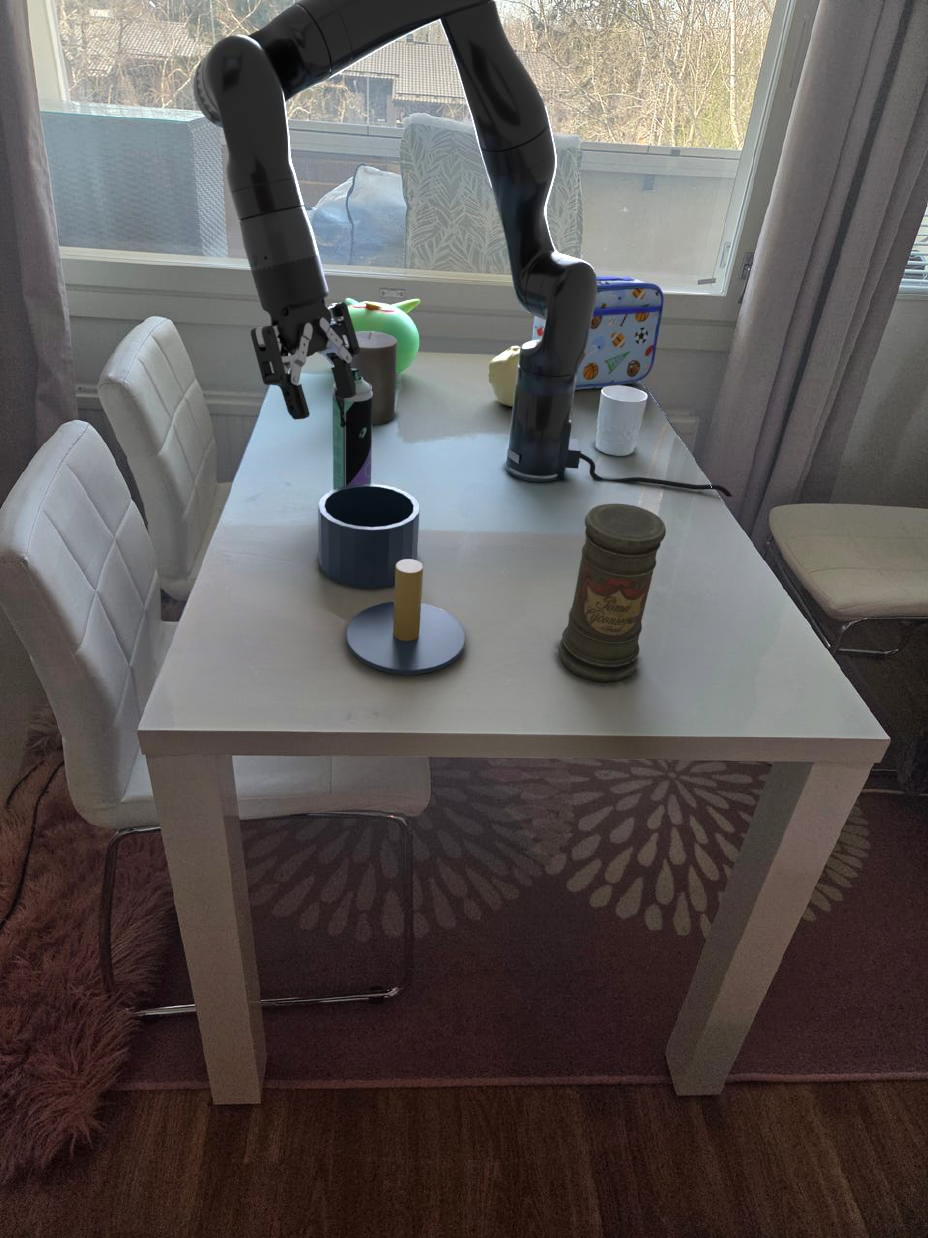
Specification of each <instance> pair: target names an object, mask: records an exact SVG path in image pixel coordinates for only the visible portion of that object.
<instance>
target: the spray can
mask: <svg viewBox="0 0 928 1238" xmlns="http://www.w3.org/2000/svg"><path fill="white" fill-rule="evenodd" d="M351 370H352V374H353V378H354V381H355V385H356V395H355V396H354V397H351V398H344V399H342V398H340V397H339V395H338V391H337V388H336V384H335V382H334V383H333V384H332V390H331V393H332V394H331V396H332V397H331V399H332V400H331V401H332V486H333V487H332V488H333V489H332V490H334V489H336V488H339V487H343V486H348V485H355V484H372V463H373V462H372V461H373V460H372V459H373V458H372V457H373V456H372V454H373V453H372V452H373V424H372V405H373V392H372V386H371V384H369V383H367V382H365V381H364V380H363V377H361V376H360V374H359V369H358V368H357V367H354V368H351Z"/></svg>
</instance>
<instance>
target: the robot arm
mask: <svg viewBox="0 0 928 1238" xmlns="http://www.w3.org/2000/svg"><path fill="white" fill-rule="evenodd" d="M496 1H497V0H298V1H296V2H294V3H293V4H291V5H289V6H288V7H285V9H283V10H282V11H280V12H279V13H278V14H276V16H274V17H273V18H272V19H271V20H270V21H269V22H268V23H267V24H266V25H264V26H263V27H262V28H260V29H257V30H256V31H254V32H252V33H250V34H248V35H242V34H231V35H228V36H225V37H223V38H221V39H220V40H218V42H216V43H215V44H214V45H213V46H211V48H210V50H209V51H208V52H207V53H206V54H205V55H204V57H203V58H202V59H201V60H200V61H199V63H198V65H197V66H196V70H195V71H194V76H193V84H192V89H193V96H194V100H195V102H196V106H197V107H198V109H199V110H200V111H199V112H200V113H201V114H202V115H203V116H204V117H205V119H207V121H209V122H210V123H212V124H214V125H215V126H217V127H219V128H222V131H223V135H224V140H225V144H226V148H227V153H228V154H227V155H228V156H227V157H228V158H227V163H226V167H225V168H226V169H225V173H226V180H227V184H228V188H229V192H230V196H231V199H232V202H233V207H234V209H235V212H236V216H237V219H238V221H239V227H240V232H241V238H242V244H243V248H244V251H245V255H246V259H247V261H248V264H249V268H250V272H251V275H252V279H253V282H254V285H255V288H256V292H257V296H258V299H259V302H260V305H261V308H262V310H263V311H264V312H266V313H268V314H269V317H270V325H265V326H259V327H254V328H251V330H250V338H251V340H252V345H253V349H254V352H255V356H256V360H257V364H258V368H259V372H260V376H261V379H262V382H263V384H264V385H265V386H276V387H279V389H280V390H281V393H282V396H283V399H284V403H285V406H286V411H287V413H288V414H289V416H290V417H291V419H293V420H296V421H297V420H305V419H306V418H309V417H310V409H309V406H308V403H307V400H306V396H305V393H304V388H303V386H302V383H300V378H301V372H302V368H303V367H304V366H305V365H306V361H307V358H308V357H310V356H314V354H316V353H317V354H319V355H322V356H323V357H324V358H325V359H326V360H327V361H328V362H329V363H330V364H331V365H332V366H331V368H330V369H331V373H332V377H333V380H334V383H335V384H336V388H337V391H338V395H339V397H340V398H342V399H344V398H351V397H354V396H355V395H356V385H355V381H354V378H353V374H352V370H351V366H350V363H351V361H352V357H353V356H354V355H355V354H359V352H360V348H359V344H358V341H357V337H356V334H355V331H354V327H353V324H352V321H351V317H350V314H349V310H348V307H347V305H346V303H345V301H342V302H335V303H331V304H326V302H325V301H326V300H325V299H326V298H328V296H329V294H330V291H329V287H328V284H327V279H326V275H325V272H324V268H323V264H322V261H321V256H320V253H319V249H318V246H317V242H316V237H315V234H314V231H313V227H312V225H311V221H310V220H309V217H308V214H307V212H306V208H305V206H304V201H303V198H302V194H301V191H300V187H299V183H298V179H297V175H296V172H295V169H294V165H293V163H292V158H291V144H290V132H289V125H288V116H287V115H288V114H287V108H286V102H288V101H289V100H291V99H292V98H293V97H295V96H296V95H298V94H300V93H301V92H304V91H306V90H307V89H310V88H313V87H315V86H317V85H320V84H322V83H324V82H325V81H328V79H331V78H333V77H334V76H336V75H338V74H340V73H341V72H343V71H345V70H346V69H348V68H350V67H351V66H353V65H355V64H356V63H358V62H360V61H361V60H363V59H365V58H367V57H368V56H370V55H372V54H374V53H375V52H377V51H379V50H380V49H383V48H384V47H386V46H388V45H390V44H392V43H394V42H395V41H397V40H399V39H401V38H403V37H405V36H407V35H409V34H412V33H413V32H415V31H417V30H420V29H421V28H424V27H426V26H428V25H431V24H433V23H435V22H438V21H439V22H440V24H441V28H442V30H443V32H444V34H445V37H446V40H447V42H448V45H449V48H450V50H451V53H452V56H453V59H454V62H455V65H456V69H457V73H458V76H459V79H460V84H461V87H462V90H463V94H464V96H465V100H466V103H467V106H468V107H467V108H468V110H469V113H470V116H471V120H472V123H473V127H474V130H475V131H474V132H475V136H476V140H477V143H478V148H479V150H480V153H481V157H482V161H483V165H484V168H485V171H486V175H487V177H488V180H489V183H490V187H491V190H492V194H493V197H494V201H495V204H496V209H497V212H498V216H499V219H500V222H501V227H502V232H503V234H504V239H505V244H506V250H507V257H508V261H509V267H510V272H511V279H512V284H513V290H514V293H515V296H516V299H517V301H518V303H519V305H520V307H522V309H523V310H524V311H525V312H526V313H528V314H530V315H532V316H534V317H535V316H536V317H538V318H541V319H544V320H546V322H545V327H544V332H543V336H542V339H539V340H533V341H532V340H529V341H526V342H524V343H523V344H522V345H521V346H520V347H521V348H520V351H519V359H518V367H517V376H516V385H515V394H514V403H513V406H512V413H511V421H510V429H509V439H508V448H507V454H506V461H505V470H506V471H507V473H509V475H511V476H513V477H515V478H517V479H519V480H523V481H527V482H533V483H534V482H535V483H549V482H553V481H556V480H557V481H558V480H560V481H563V480H564V479H565V472H566V469H577V470H578V469H579V465H580V461H581V460H583V461H585V462H587V463H588V465H589V476H591V478H593V479H594V480H596V481H599V482H600V481H601V482H611V483H622V484H623V483H624V484H625V483H646V484H651V485H660V486H667V487H675V488H680V489H681V488H682V489H687V490H688V489H689V490H696V491H697V490H698V491H704V490H716V491H719V492H721V493H722V494H724V495H725V497H728V498H731V497H733V495H732V494H731V492H730V491H729V490H728V489H727V488H726V487H724V486H723V485H720V484H715V483H714V484H713V483H712V484H711V483H710V484H709V483H708V484H695V483H694V484H693V483H686V482H679V481H672V480H666V479H658V478H653V477H652V478H651V477H643V476H642V477H641V476H631V477H630V476H629V477H622V478H605V477H602V476H600V475H598V474H597V473H596V463H595V462H594V460H593V459H592V458H590V456H588V455H586V454H584V453H582V450H581V447H580V442H579V439H577V438H571V434H572V428H573V423H572V419H571V418H572V411H573V404H574V400H575V399H574V398H575V391H576V390H575V386H576V379H577V373H578V367H579V362H580V359H581V357H582V355H583V353H584V351H585V349H586V345H587V341H588V337H589V332H590V327H591V322H592V317H593V313H594V308H595V303H596V296H597V278H596V276H597V275H596V271H595V269H594V267H593V266H592V265H591V264H590V263H588V262H587V261H585V260H582V259H580V258H576V257H572V256H570V255H567V254H564V253H563V254H562V253H559V252H558V251H557V249H556V247H555V245H554V243H553V240H552V237H551V234H550V229H549V224H548V219H547V204H548V201H549V197H550V194H551V190H552V187H553V183H554V179H555V176H556V171H557V170H556V169H557V153H556V152H557V151H556V145H555V142H554V137H553V132H552V128H551V122H550V119H549V114H548V110H547V107H546V104H545V102H544V99H543V97H542V95H541V93H540V91H539V89H538V87H537V85H536V84H535V82H534V80H533V78H532V77H531V75H530V73H529V72H528V70H527V69H526V67H525V66H524V64H523V62H522V61H521V60H520V58H519V56H518V55H517V53H516V51H515V49H514V48H513V46H512V45H511V43H510V41H509V39H508V36H507V34H506V32H505V30H504V27H503V24H502V21H501V18H500V15H499V11H498V8H497V7H498V6H497V3H496ZM343 335H345V336H346V337H347V341H348V344H349V345H346V344H345V341H344V338H343ZM289 354H290V355H289ZM710 485H711V486H712V488H711V486H710Z"/></svg>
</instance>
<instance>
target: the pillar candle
mask: <svg viewBox="0 0 928 1238" xmlns="http://www.w3.org/2000/svg"><path fill="white" fill-rule="evenodd" d="M355 334H356V337H357V341H358V344H359V348H360V352H359V354H355V355H354V356H353V357H352V361H351V363H350V366H351V368H354V367H357V368H358V369H359V374H360V376H361V377H363V380H364V381H365V382H367V383H369V384H371V386H372V392H373V405H372V425H382V424H387V423H390V422H391V421H393V420H395V418H396V408H395V407H396V389H397V386H396V385H397V381H396V380H397V374H396V361H397V340H396V338H394V337H393V336H391V335H389V334H385V333H380V332H374V331H359V332H355ZM343 338H344V341H345V344H346V345H349V344H348V341H347V337H346V336H345V335H344V336H343Z"/></svg>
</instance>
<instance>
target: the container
mask: <svg viewBox="0 0 928 1238" xmlns="http://www.w3.org/2000/svg"><path fill="white" fill-rule="evenodd" d="M584 527H585V529H584V530H585V531H584V535H585V541H584V545H583V546H582V548H581V558H580V563H579V569H578V573H577V580H576V585H575V591H574V596H573V601H572V604H571V608H570V610H569V612H568V621H567V626H566V627H565V628H564V629H563V630H562V634H561V640H560V642H559V644H558V655H559V658H560V659H559V660H561V662H562V664H563V665H564V666H565V667H566V668H567V669H568V670H569V671H571V672H572V673H573V674H575V675H577V676H579V677H581V678H583V679H586V680H589V681H593V682H601V683H615V682H620V681H622V680H625V679H627V678H628V677H630V676H631V675H632V674H633V673H634V672H635V670H636V668H637V667H638V664H639V663H638V662H639V654H640V645H639V638H640V635H641V633H642V631H643V630H642V629H643V623H642V621H643V616H644V612H645V609H646V604H647V600H648V595H649V591H650V587H651V582H652V578H653V574H654V570H655V568H656V566H657V553H658V551H659V549H660V547H661V544H662V542H663V541H664V540H665V537H666V533H667V529H666V524H665V522H664V521H663V519H662V517H660V516H659V515H657V514H656V513H654V512H652V511H650V510H648V509H646V508H643V507H641V506H636V505H633V504H628V503H613V502H611V503H603V504H599V505H596V506H594V507H592V508H591V509H590V510H589V511H588V512H587V514H586V516H585V518H584Z"/></svg>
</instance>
